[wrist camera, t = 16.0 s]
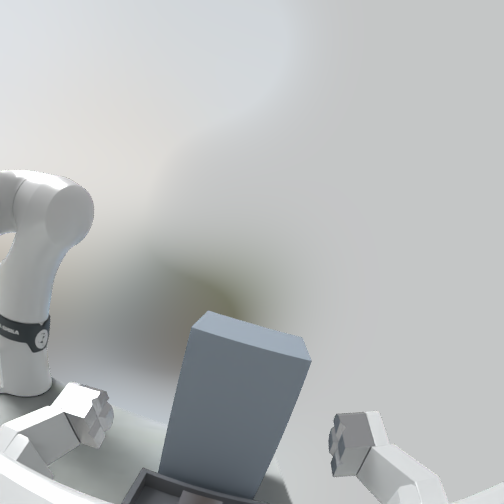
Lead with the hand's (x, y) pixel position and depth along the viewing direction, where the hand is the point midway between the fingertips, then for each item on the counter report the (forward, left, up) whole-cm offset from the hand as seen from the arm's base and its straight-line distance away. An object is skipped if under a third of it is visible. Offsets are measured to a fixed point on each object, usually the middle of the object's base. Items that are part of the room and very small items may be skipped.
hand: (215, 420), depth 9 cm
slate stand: (+1, +29, -31) cm, 42 cm away
